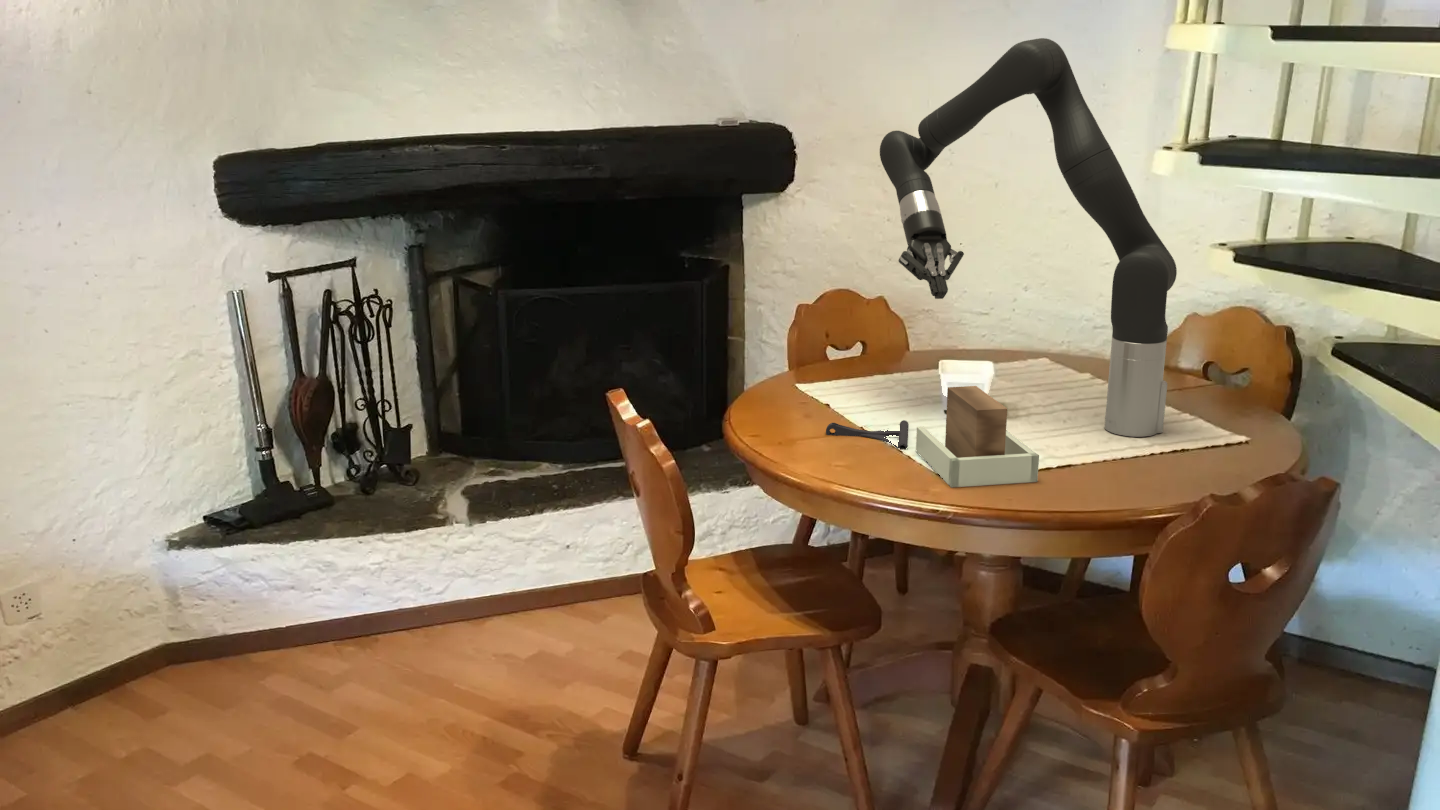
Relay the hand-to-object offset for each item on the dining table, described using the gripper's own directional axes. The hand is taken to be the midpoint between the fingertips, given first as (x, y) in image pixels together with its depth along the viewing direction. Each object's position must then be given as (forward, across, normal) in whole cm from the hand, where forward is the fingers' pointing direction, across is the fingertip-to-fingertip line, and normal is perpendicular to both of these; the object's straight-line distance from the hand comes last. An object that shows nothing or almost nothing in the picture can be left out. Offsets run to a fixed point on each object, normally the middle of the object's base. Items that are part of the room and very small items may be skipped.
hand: (941, 296), depth 206 cm
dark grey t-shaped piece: (+23, -15, +12) cm, 30 cm away
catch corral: (+36, -4, -4) cm, 36 cm away
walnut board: (+36, -4, -4) cm, 36 cm away
